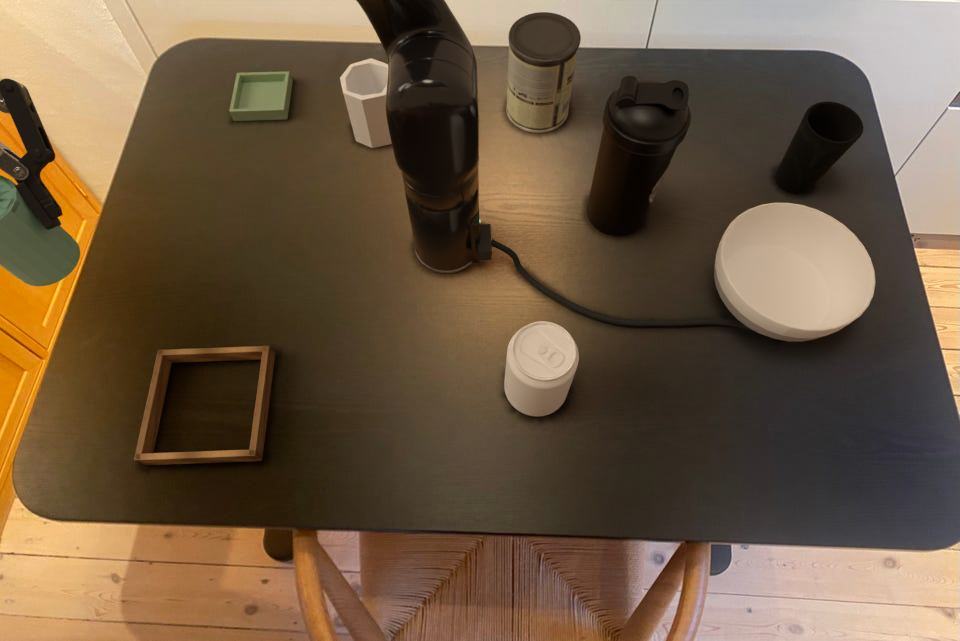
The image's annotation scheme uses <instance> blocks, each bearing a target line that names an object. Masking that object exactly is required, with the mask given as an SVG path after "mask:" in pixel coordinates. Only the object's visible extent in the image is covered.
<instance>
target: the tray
mask: <svg viewBox="0 0 960 641" xmlns="http://www.w3.org/2000/svg"><path fill="white" fill-rule="evenodd" d="M293 82H294V80H293V78H292V75H291V72H290V71H289V70H287V71H285V70H284V71H254V72H251V71H250V72H236V75H235V80H234V85H233V90H232V94H231V100H230V104H229V109H228V112H229V114H230V117H231V119H232V120H233V122H248V121H249V122H250V121H251V122H252V121H284V120H288V118H289V112H290V104H291V97H292V90H293Z"/></svg>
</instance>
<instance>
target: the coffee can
mask: <svg viewBox="0 0 960 641" xmlns="http://www.w3.org/2000/svg"><path fill="white" fill-rule="evenodd" d="M581 36H582V35H581V32H580V29H579V28H578V26H577V24H576V23H575V22H574V21H572V20H571V19H570V18H567V17H566V16H564V15H561V14H559V13H555V12H546V11H538V12H532V13H529V14H526V15H524V16H521V17H520V18H518V19H516V20H515V22H513V23H512V25H511V26H510V28H509V31H508V62H507V64H508V65H507V89H506V92H507V93H506V105H505V112H506V116H507V118H508V119H509V121H510V122H511V123H512V124H513V125H514V126H515V127H517V128H518V129H520V130H521V131H525V132H529V133H532V134H533V133H534V134H542V133H543V134H544V133H549V132H552V131H554V130H557V129H558V128H560V127H561V126H562V125H563V124H564V123H565V122H566V120H567V118H568V115H569V108H570V101H571V95H572V89H573V82H574V76H575V71H576V64H577V58H578V52H579V51H578V50H579V49H580V45H581V40H582V39H581V38H582V37H581Z"/></svg>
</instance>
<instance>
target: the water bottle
mask: <svg viewBox="0 0 960 641" xmlns="http://www.w3.org/2000/svg"><path fill="white" fill-rule="evenodd" d="M689 96H690V90H689V85H688V84H687V83H686V82H684V81H682V80H678V79H677V80H676V79H672V80H668V81H662V80H660V79H654V78H639V79H638V78H637V77H636V76H634V75H626V76H624V77H622V79H621V81H620V85H619V87H618V88H616V89H615V90H614V91H613V92H611V93H610V95H609V96H608V98H607V99H606V101H605V105H604V109H603V114H602V125H603V128H602V133H601V137H600V143H599V148H598V153H597V157H596V161H595V167H594V172H593V178H592V181H591V187H590V191H589V195H588V201H587V206H586V214H587V215H586V216H587V219H588V220H589V223H590V224H591V225H592V226H593V227H594V228H595V229H596V230H598V231H599V232H601V233H602V234H605V235H608V236H613V237H624V236H625V237H626V236H628V235H631V234H633V233H635V232H636V231H637V230H639V229H640V228H641V227H642V225H643V223H644V220H645V218H646V216H647V215H648V212H649V209H650V208H651V205H652V203H653V201H654V199H655V197H656V195H657V192H658V191H659V188H660V186H661V184H662V182H663V180H664V177H665V175H666V173H667V171H668V169H669V166H670V165H671V161H672V159H673V156H674V154H675V153H676V150H677V148H678V146H679V145H680V144H681V143H682V142H683V140H684V139H685V138H686V136H687V133H688V131H689V128H690V125H691V121H692V112H691V108H690V106H689V104H688V103H689Z"/></svg>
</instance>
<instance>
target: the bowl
mask: <svg viewBox="0 0 960 641" xmlns="http://www.w3.org/2000/svg"><path fill="white" fill-rule="evenodd" d="M716 249H717V250H716V253H715V259H714V264H713V265H714V266H713V279H714V284H715V288H716V290H717V293H718V295H719V298H720V299H721V301H722V302H723V304H724V305H725V307H726V309H727V310H728V312H730V313H731V314H732V315H733V316H734V318H735V319H736V321H740V322H741V323H743V324H744V325H745V326H746V327H748V328H750V329H752V330H754V331H755V332H754V333H757V334H760V335H763V336H765V337H768V338H770V339H774V340H779V341H785V342H807V341H812V340H817V339H820V338H823V337H826V336H829V335H831V334H834V333H836V332H839V331H840V330H842V329H844V328H845V327H847V326H848V325H850V324H852V323H853V322H855V321H856V320H857V319H858V318H860V317H861V316H862V315H863V314H864V313H865V312H866V310H867V309H868V308H869V307H870V304H871V301H872V300H873V297H874V294H875V288H876V274H875V273H876V272H875V268H874V264H873V262H872V259H871V256H870V255H869V253H868V250H867V249H866V247H865V246H864V244H863V243H862V242H861V241H860V239H859V238H858V237H857V235H856V234H855V233H854V232H853V231H851V230H850V229H849V227H847V226H846V225H845V224H844V223H842V222H840V221H839V220H837V219H836V218H835V217H833V216H832V215H829V214H827V213H825V212H824V211H821V210H819V209H817V208H814V207H810V206H807V205H804V204H800V203H799V204H798V203H792V202H770V203H764V204H760V205H757V206H754V207H751V208H748V209H747V210H745V211H743V212H741V213H740V214H739V215H737V216H735V218H734V219H733V220H732V221H731V222H730V223H729V224H728V225H727V228H726V229H725V231H724V232H723V235H722V237H721V239H720V241H719V243H718V246H717V248H716Z"/></svg>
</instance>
